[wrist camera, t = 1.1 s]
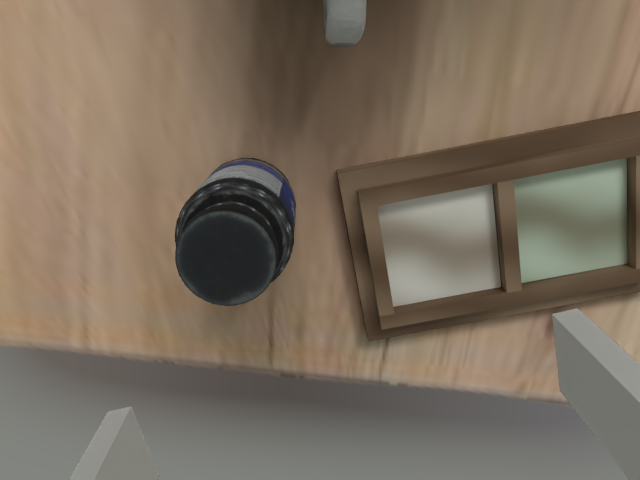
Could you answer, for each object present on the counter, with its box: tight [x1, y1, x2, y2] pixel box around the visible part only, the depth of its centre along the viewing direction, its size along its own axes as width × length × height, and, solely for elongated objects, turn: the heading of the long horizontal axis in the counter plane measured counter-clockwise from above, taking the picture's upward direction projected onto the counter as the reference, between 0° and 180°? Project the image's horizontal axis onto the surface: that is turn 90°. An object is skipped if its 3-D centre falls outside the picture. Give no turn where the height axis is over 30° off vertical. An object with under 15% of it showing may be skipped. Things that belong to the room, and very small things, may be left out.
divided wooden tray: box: [337, 111, 640, 341], centre depth 35 cm, size 12×20×2 cm, turn 101°
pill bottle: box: [175, 158, 296, 306], centre depth 29 cm, size 6×6×11 cm
